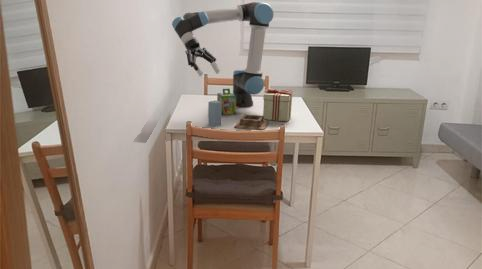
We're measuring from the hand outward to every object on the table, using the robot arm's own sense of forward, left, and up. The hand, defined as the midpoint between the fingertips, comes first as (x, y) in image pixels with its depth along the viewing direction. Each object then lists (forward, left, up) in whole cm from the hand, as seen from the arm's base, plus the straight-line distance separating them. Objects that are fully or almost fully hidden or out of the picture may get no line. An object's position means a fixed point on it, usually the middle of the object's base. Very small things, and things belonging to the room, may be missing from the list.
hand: (210, 73), depth 238 cm
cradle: (+19, +14, -28) cm, 36 cm away
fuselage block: (+5, -1, -28) cm, 28 cm away
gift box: (+17, +38, -28) cm, 50 cm away
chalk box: (-9, +22, -28) cm, 37 cm away
